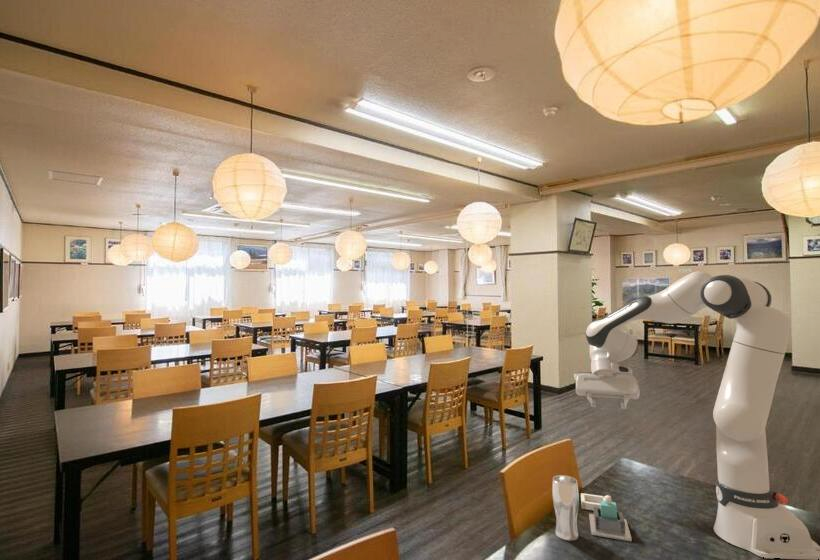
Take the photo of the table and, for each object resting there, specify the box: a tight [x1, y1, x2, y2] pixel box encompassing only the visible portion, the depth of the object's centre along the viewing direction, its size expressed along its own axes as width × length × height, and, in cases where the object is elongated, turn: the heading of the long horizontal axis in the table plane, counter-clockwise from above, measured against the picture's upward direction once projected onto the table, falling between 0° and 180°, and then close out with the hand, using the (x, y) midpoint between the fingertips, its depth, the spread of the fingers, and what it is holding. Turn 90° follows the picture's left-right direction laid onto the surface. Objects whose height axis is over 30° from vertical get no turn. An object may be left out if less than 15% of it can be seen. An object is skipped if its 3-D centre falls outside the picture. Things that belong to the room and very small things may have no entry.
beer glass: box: [551, 474, 580, 542], centre depth 115 cm, size 7×7×15 cm
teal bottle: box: [600, 494, 618, 519], centre depth 117 cm, size 4×3×8 cm
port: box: [588, 507, 632, 543], centre depth 117 cm, size 10×10×4 cm
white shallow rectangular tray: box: [580, 492, 606, 512], centre depth 130 cm, size 8×6×2 cm
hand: (608, 406), depth 138 cm, fingers open, 8 cm apart
